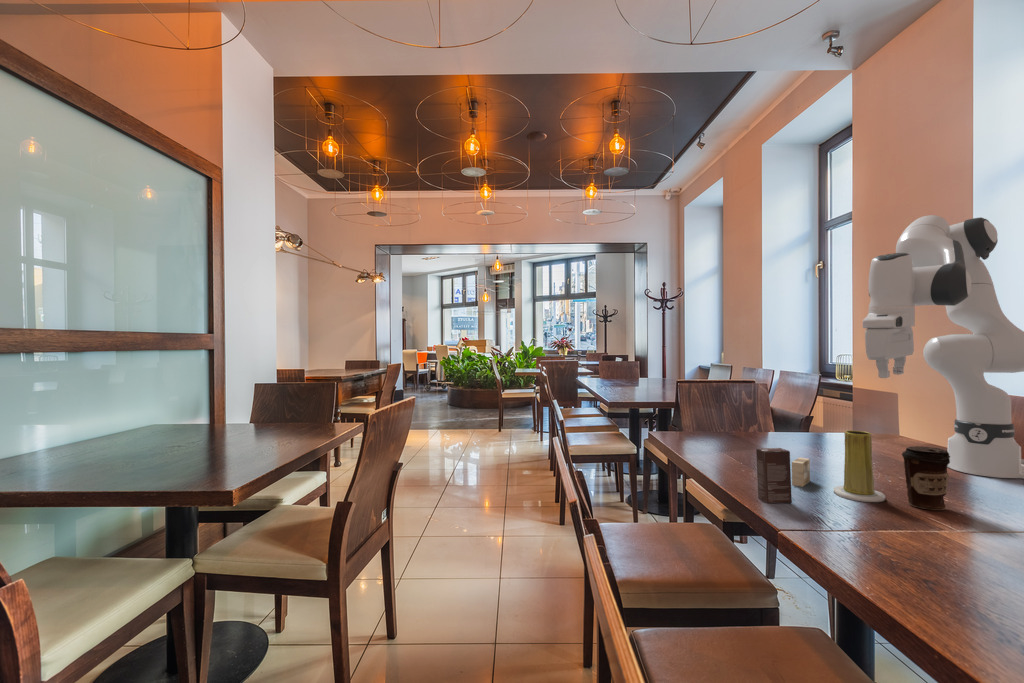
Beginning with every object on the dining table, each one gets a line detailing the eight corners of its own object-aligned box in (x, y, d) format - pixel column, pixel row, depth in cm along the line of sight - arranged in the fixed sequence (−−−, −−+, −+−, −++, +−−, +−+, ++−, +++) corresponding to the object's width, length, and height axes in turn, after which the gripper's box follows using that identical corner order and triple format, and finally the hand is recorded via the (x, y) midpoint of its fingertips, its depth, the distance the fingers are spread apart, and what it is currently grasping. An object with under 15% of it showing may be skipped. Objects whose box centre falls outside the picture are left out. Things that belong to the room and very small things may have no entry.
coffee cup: (963, 514, 100) (962, 453, 101) (918, 512, 102) (917, 452, 102) (935, 501, 109) (934, 445, 109) (894, 499, 111) (893, 444, 111)
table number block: (799, 479, 128) (799, 457, 128) (810, 481, 126) (810, 458, 126) (792, 485, 123) (791, 462, 123) (803, 487, 121) (802, 463, 121)
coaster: (844, 486, 121) (843, 483, 121) (892, 496, 112) (891, 493, 112) (826, 494, 115) (826, 490, 115) (875, 505, 107) (875, 501, 107)
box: (781, 497, 113) (780, 447, 113) (792, 503, 108) (791, 451, 109) (756, 497, 113) (755, 447, 113) (766, 503, 108) (765, 451, 109)
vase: (881, 495, 111) (879, 434, 111) (854, 495, 111) (853, 434, 111) (862, 487, 117) (861, 430, 117) (837, 487, 117) (836, 430, 117)
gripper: (890, 319, 124) (891, 371, 124) (859, 321, 112) (859, 379, 113) (921, 318, 119) (921, 373, 119) (891, 320, 107) (892, 381, 108)
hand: (891, 376), depth 116 cm, fingers open, 8 cm apart
